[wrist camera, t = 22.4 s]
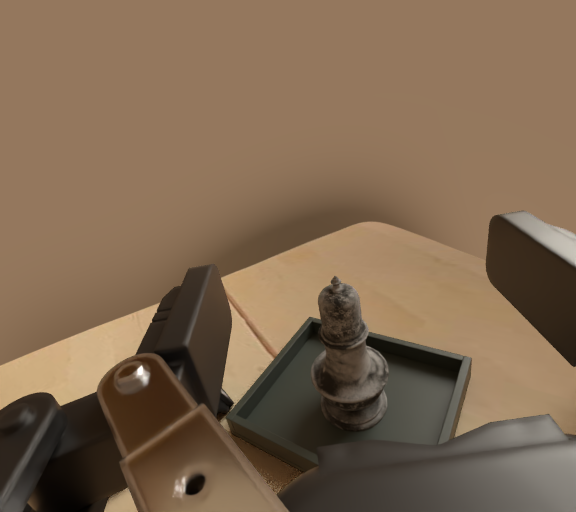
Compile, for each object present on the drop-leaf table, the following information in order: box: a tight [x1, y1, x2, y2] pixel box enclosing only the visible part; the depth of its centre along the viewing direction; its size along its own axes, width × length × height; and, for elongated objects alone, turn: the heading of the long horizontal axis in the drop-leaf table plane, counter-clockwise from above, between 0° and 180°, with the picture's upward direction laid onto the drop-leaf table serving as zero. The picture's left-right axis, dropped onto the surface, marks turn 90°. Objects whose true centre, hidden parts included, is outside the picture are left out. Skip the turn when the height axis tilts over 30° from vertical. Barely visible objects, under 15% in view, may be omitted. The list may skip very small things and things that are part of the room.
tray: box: [226, 317, 472, 473], centre depth 29 cm, size 15×13×2 cm
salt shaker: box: [311, 276, 389, 432], centre depth 26 cm, size 6×6×12 cm
